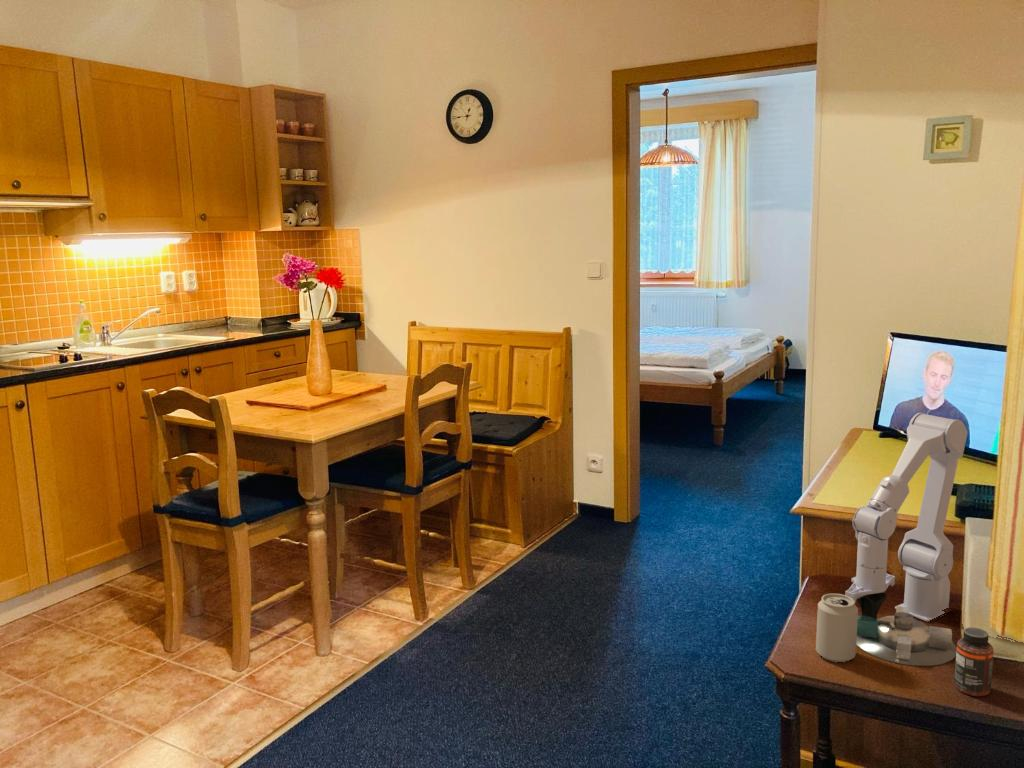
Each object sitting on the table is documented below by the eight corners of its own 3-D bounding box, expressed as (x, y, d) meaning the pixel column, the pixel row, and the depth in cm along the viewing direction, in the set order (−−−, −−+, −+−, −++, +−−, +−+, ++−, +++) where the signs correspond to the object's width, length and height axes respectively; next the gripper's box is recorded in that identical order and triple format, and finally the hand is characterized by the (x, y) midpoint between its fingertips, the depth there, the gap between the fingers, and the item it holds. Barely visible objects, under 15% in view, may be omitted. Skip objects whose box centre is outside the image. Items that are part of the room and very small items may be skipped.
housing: (888, 611, 188) (889, 587, 187) (977, 647, 171) (979, 622, 170) (829, 635, 177) (830, 610, 176) (918, 676, 161) (920, 649, 160)
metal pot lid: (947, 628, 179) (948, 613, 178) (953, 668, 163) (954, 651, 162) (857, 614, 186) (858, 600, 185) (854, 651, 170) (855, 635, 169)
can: (858, 666, 165) (862, 608, 163) (818, 663, 166) (821, 605, 164) (851, 647, 172) (854, 592, 170) (812, 644, 174) (815, 589, 171)
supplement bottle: (984, 682, 158) (989, 626, 156) (995, 699, 153) (1000, 641, 150) (949, 679, 160) (954, 623, 158) (958, 696, 154) (963, 638, 152)
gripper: (874, 549, 183) (871, 608, 186) (833, 566, 175) (830, 627, 178) (905, 559, 178) (901, 619, 180) (864, 577, 170) (860, 639, 172)
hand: (868, 624), depth 179 cm, fingers closed, pressing on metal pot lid
